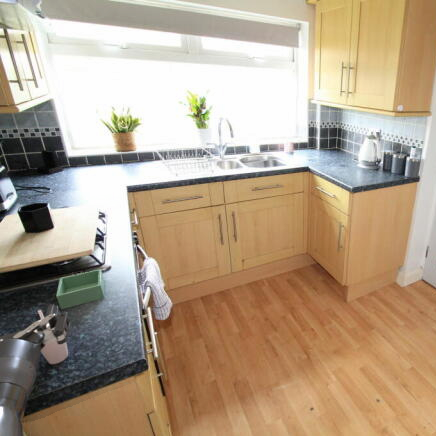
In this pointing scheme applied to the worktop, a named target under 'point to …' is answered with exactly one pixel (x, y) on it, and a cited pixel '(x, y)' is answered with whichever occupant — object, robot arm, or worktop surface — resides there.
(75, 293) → the green open box
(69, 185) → the worktop surface
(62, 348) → the smoothie
